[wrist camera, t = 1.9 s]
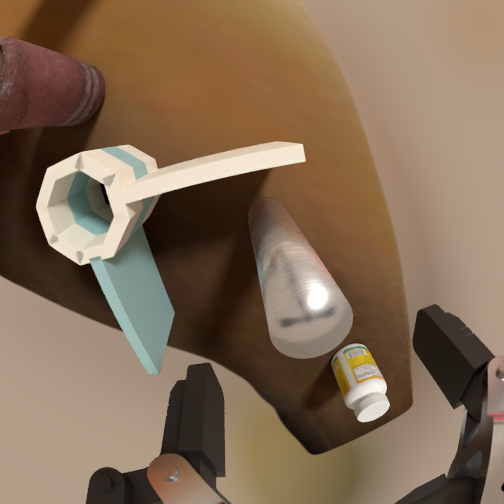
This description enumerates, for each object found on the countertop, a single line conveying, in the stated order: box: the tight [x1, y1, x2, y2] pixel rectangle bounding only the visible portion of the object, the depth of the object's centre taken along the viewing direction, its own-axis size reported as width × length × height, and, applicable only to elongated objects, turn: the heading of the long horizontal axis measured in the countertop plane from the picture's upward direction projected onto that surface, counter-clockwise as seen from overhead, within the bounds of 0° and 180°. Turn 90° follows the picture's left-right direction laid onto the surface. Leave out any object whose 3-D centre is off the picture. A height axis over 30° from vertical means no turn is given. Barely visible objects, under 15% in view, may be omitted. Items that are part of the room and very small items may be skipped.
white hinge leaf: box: [36, 141, 305, 265], centre depth 19 cm, size 7×18×9 cm, turn 102°
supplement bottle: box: [331, 344, 390, 422], centre depth 29 cm, size 5×5×10 cm
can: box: [0, 36, 105, 135], centre depth 13 cm, size 6×6×14 cm
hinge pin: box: [247, 197, 353, 358], centre depth 18 cm, size 4×4×16 cm
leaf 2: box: [67, 146, 175, 375], centre depth 21 cm, size 18×7×9 cm, turn 12°
